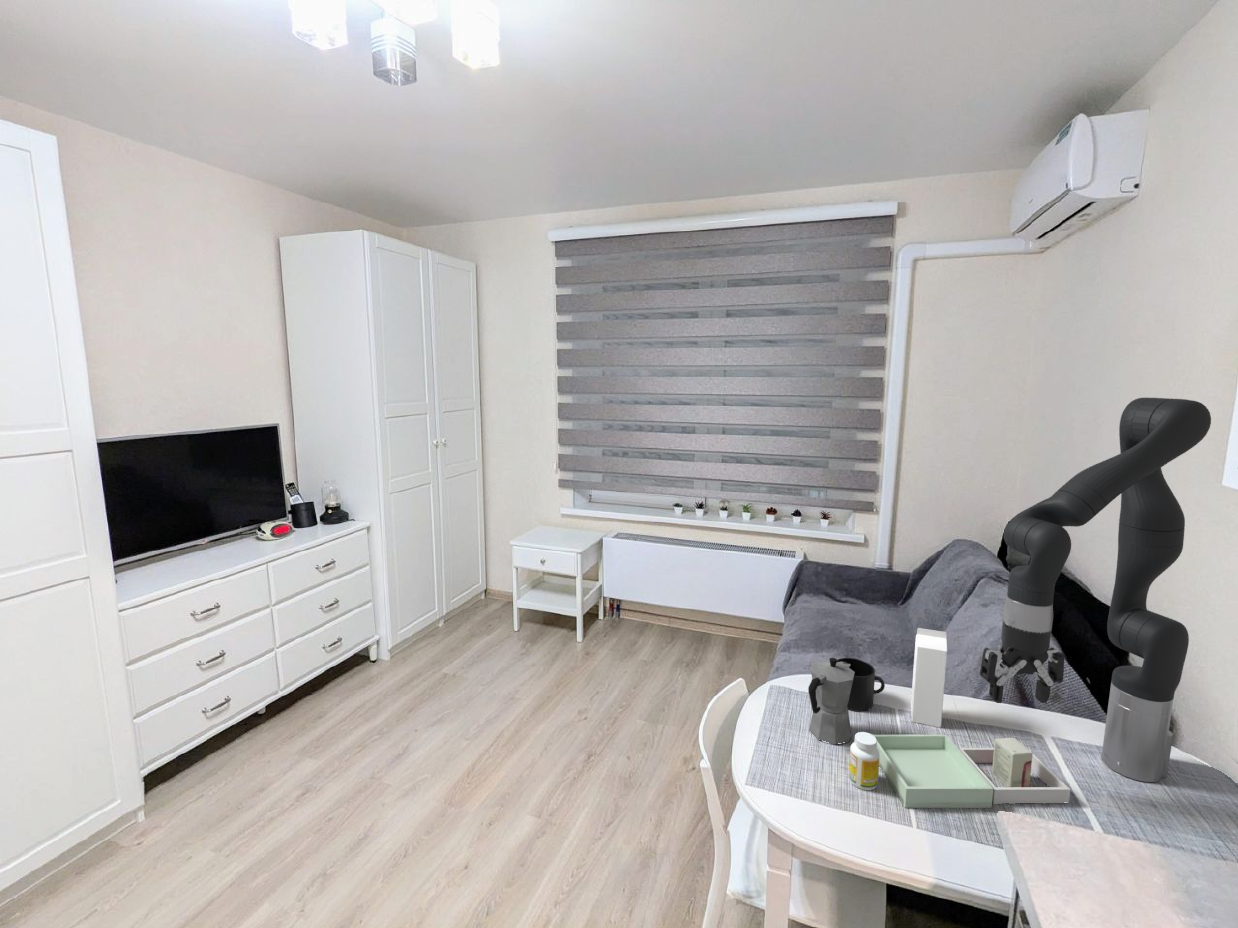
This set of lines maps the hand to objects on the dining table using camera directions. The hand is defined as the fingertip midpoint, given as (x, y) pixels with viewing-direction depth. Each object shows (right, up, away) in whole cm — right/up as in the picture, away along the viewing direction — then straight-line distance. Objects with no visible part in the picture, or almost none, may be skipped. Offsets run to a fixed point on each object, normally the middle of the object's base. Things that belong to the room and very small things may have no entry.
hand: (1018, 700), depth 110 cm
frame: (0, -17, +3) cm, 17 cm away
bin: (-16, -17, +4) cm, 24 cm away
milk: (-5, -14, +24) cm, 28 cm away
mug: (-18, -13, +31) cm, 38 cm away
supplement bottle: (-29, -18, +3) cm, 34 cm away
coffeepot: (-30, -15, +18) cm, 39 cm away
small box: (0, -17, +3) cm, 18 cm away
